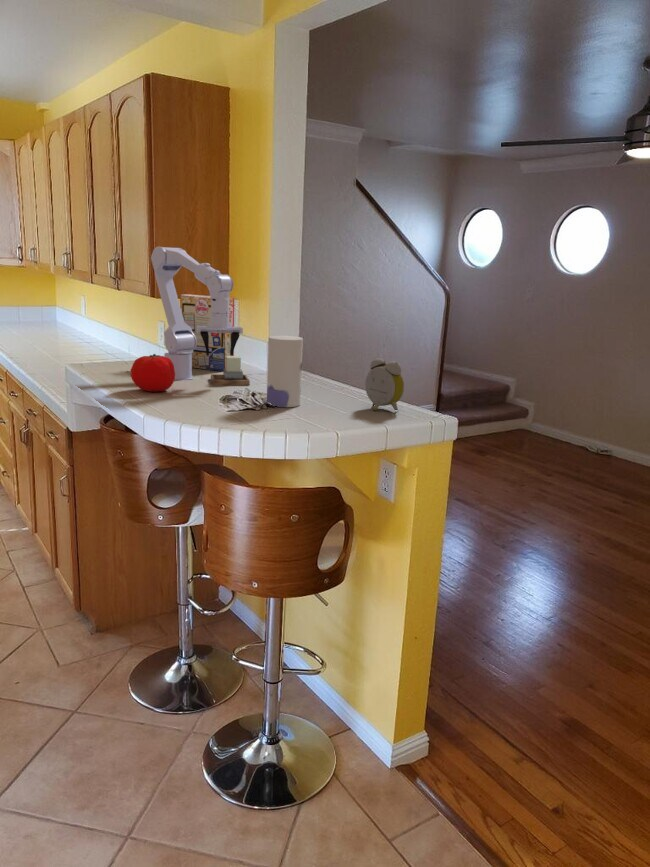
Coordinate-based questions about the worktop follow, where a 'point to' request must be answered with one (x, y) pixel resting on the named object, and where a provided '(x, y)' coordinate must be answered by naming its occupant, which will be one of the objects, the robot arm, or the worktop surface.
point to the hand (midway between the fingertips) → (219, 355)
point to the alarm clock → (384, 383)
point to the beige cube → (233, 363)
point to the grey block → (232, 375)
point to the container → (284, 370)
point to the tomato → (153, 373)
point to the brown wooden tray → (218, 380)
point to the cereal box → (199, 314)
